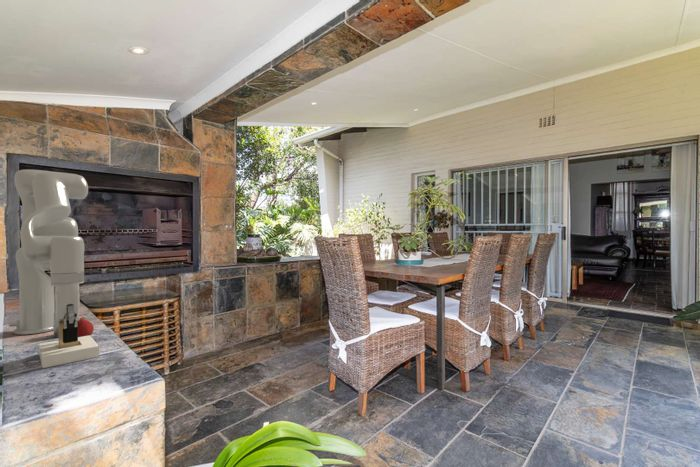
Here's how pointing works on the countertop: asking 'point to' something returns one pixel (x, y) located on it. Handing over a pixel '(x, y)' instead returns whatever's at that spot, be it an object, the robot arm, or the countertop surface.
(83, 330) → the onion
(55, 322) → the round peg
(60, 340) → the square peg
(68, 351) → the socket block
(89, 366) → the countertop surface
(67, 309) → the robot arm
